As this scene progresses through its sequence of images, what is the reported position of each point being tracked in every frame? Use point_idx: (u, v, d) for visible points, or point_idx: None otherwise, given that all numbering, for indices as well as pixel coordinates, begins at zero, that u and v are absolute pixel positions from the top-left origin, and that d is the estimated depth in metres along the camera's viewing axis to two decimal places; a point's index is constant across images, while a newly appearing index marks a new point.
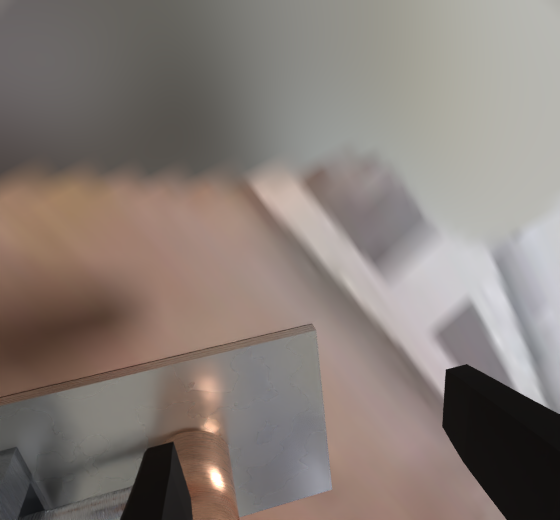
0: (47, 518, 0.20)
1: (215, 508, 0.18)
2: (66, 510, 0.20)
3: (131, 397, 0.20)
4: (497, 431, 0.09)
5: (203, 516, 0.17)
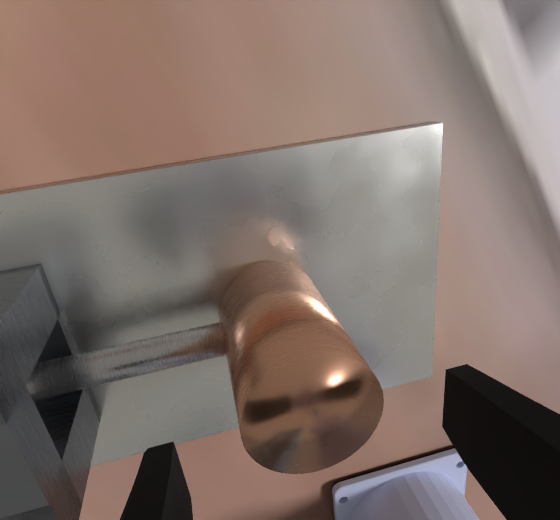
0: (83, 359, 0.14)
1: (330, 324, 0.12)
2: (109, 350, 0.14)
3: (197, 200, 0.15)
4: (496, 431, 0.09)
5: (317, 327, 0.12)
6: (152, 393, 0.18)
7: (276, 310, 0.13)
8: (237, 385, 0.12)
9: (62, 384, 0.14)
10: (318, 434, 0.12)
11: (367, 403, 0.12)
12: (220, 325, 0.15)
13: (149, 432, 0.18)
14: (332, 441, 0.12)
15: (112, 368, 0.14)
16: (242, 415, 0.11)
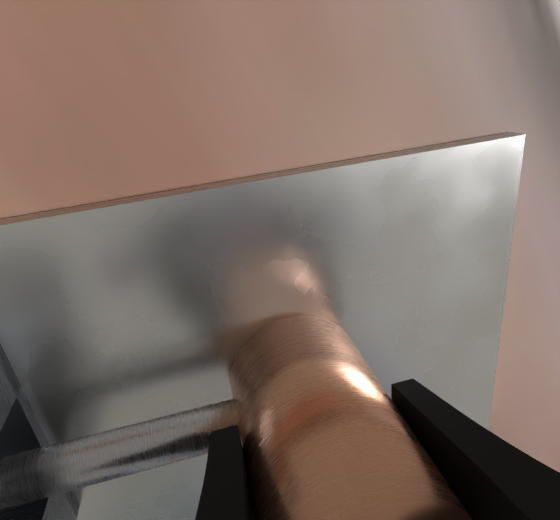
0: (48, 458, 0.10)
1: (395, 427, 0.09)
2: (84, 444, 0.11)
3: (203, 240, 0.11)
4: (434, 449, 0.09)
5: (380, 439, 0.08)
6: (144, 477, 0.14)
7: (316, 405, 0.09)
8: None
9: (18, 495, 0.10)
10: None
11: None
12: (234, 405, 0.11)
13: None
14: None
15: (87, 471, 0.10)
16: None
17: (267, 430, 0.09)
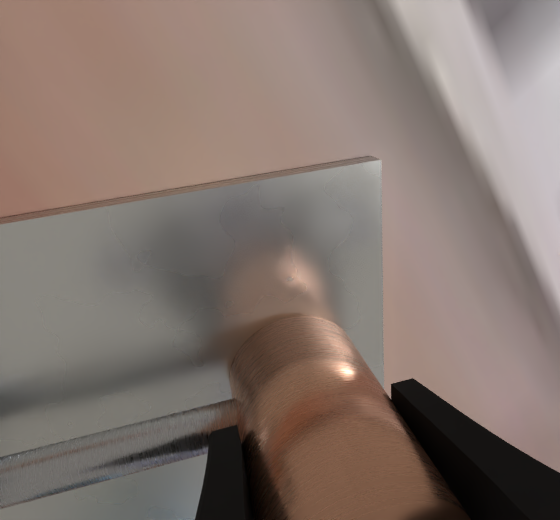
0: (47, 458, 0.10)
1: (394, 427, 0.09)
2: (83, 443, 0.11)
3: (24, 273, 0.10)
4: (434, 450, 0.09)
5: (380, 439, 0.08)
6: None
7: (315, 404, 0.09)
8: None
9: (17, 495, 0.10)
10: None
11: None
12: (233, 405, 0.11)
13: None
14: None
15: (86, 471, 0.10)
16: None
17: (266, 430, 0.09)
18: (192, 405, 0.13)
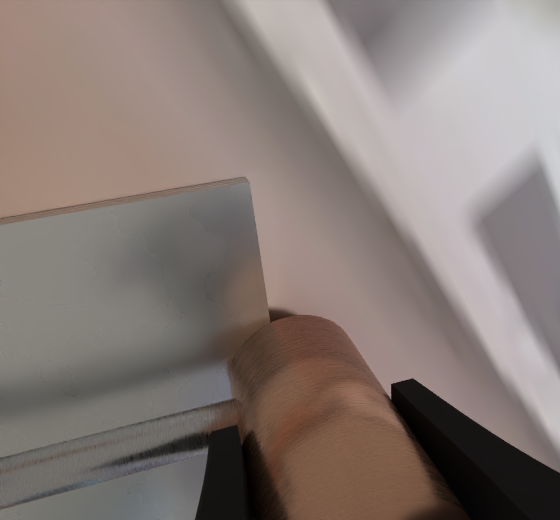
0: (47, 458, 0.10)
1: (394, 427, 0.09)
2: (84, 444, 0.11)
3: None
4: (434, 449, 0.09)
5: (380, 440, 0.08)
6: None
7: (315, 404, 0.09)
8: None
9: (17, 496, 0.10)
10: None
11: None
12: (233, 406, 0.11)
13: None
14: None
15: (87, 472, 0.10)
16: None
17: (266, 430, 0.09)
18: (71, 436, 0.13)
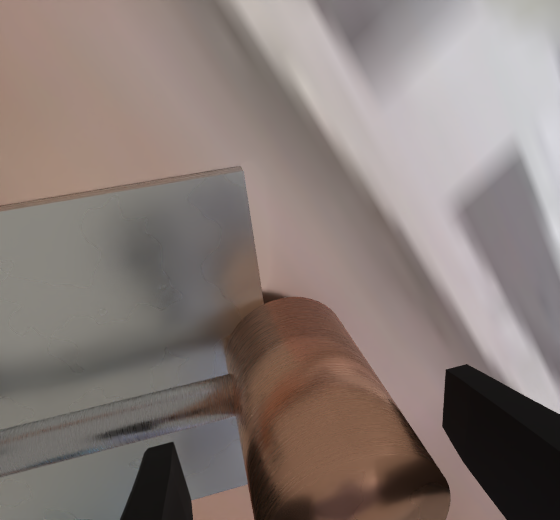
0: (56, 427, 0.11)
1: (375, 393, 0.10)
2: (89, 413, 0.11)
3: None
4: (496, 431, 0.09)
5: (360, 403, 0.09)
6: None
7: (303, 374, 0.10)
8: (255, 482, 0.09)
9: (28, 460, 0.11)
10: None
11: (429, 507, 0.09)
12: (228, 380, 0.12)
13: None
14: None
15: (92, 439, 0.11)
16: None
17: (258, 398, 0.10)
18: (77, 410, 0.13)
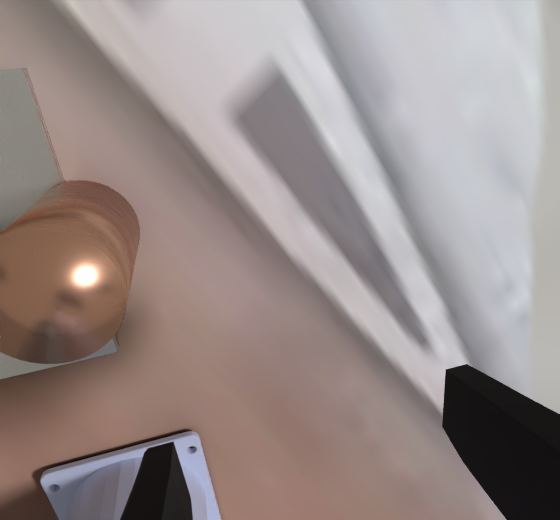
0: None
1: (86, 217, 0.13)
2: None
3: None
4: (497, 431, 0.09)
5: (62, 216, 0.12)
6: None
7: (37, 207, 0.13)
8: None
9: None
10: (58, 319, 0.12)
11: (105, 288, 0.12)
12: None
13: None
14: (76, 329, 0.12)
15: None
16: None
17: None
18: None
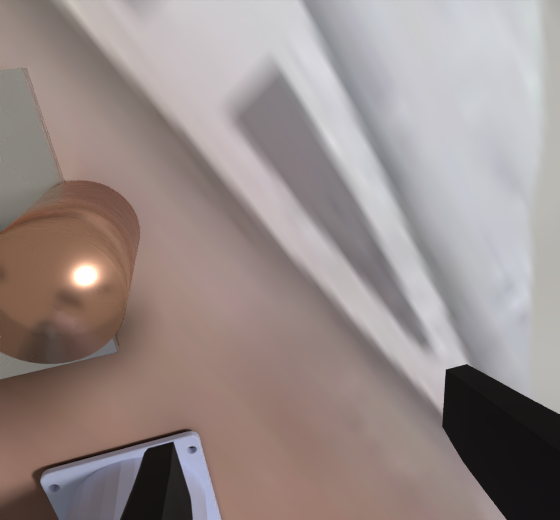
0: None
1: (86, 217, 0.13)
2: None
3: None
4: (497, 431, 0.09)
5: (62, 216, 0.12)
6: None
7: (37, 207, 0.13)
8: None
9: None
10: (58, 319, 0.12)
11: (105, 288, 0.12)
12: None
13: None
14: (76, 329, 0.12)
15: None
16: None
17: None
18: None
